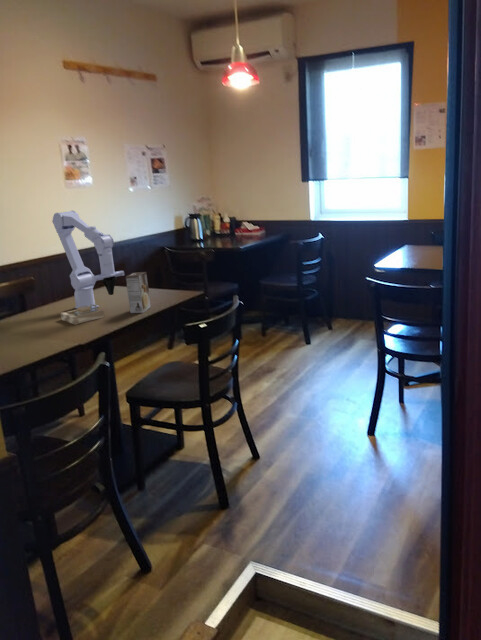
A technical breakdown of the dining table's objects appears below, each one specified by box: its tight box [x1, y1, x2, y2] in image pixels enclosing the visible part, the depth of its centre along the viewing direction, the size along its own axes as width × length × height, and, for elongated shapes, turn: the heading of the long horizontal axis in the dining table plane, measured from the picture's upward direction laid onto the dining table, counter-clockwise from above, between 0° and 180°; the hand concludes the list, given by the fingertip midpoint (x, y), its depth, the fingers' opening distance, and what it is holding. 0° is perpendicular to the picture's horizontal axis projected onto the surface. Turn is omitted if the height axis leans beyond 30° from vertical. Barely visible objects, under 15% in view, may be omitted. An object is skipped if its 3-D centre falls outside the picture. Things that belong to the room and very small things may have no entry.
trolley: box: [74, 304, 98, 316], centre depth 237 cm, size 6×8×5 cm
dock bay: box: [59, 308, 105, 326], centre depth 236 cm, size 14×14×3 cm
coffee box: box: [124, 271, 152, 314], centre depth 241 cm, size 9×6×16 cm
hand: (111, 294), depth 244 cm, fingers closed
